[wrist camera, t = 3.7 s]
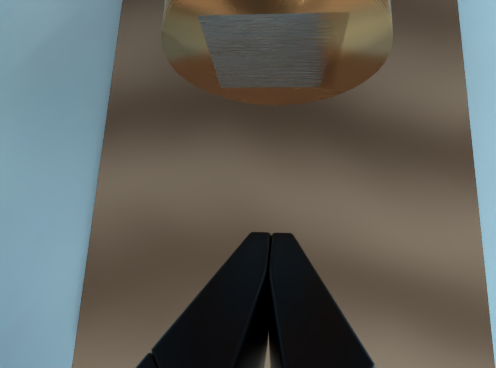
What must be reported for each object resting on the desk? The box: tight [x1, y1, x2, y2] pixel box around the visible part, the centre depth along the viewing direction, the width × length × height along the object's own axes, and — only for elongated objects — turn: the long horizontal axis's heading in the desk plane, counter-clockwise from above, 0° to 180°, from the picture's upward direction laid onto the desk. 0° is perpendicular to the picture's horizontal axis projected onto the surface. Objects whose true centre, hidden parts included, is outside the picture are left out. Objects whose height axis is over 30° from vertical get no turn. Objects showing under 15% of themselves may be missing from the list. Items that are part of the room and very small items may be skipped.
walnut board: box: [72, 0, 495, 368], centre depth 17 cm, size 20×15×1 cm
